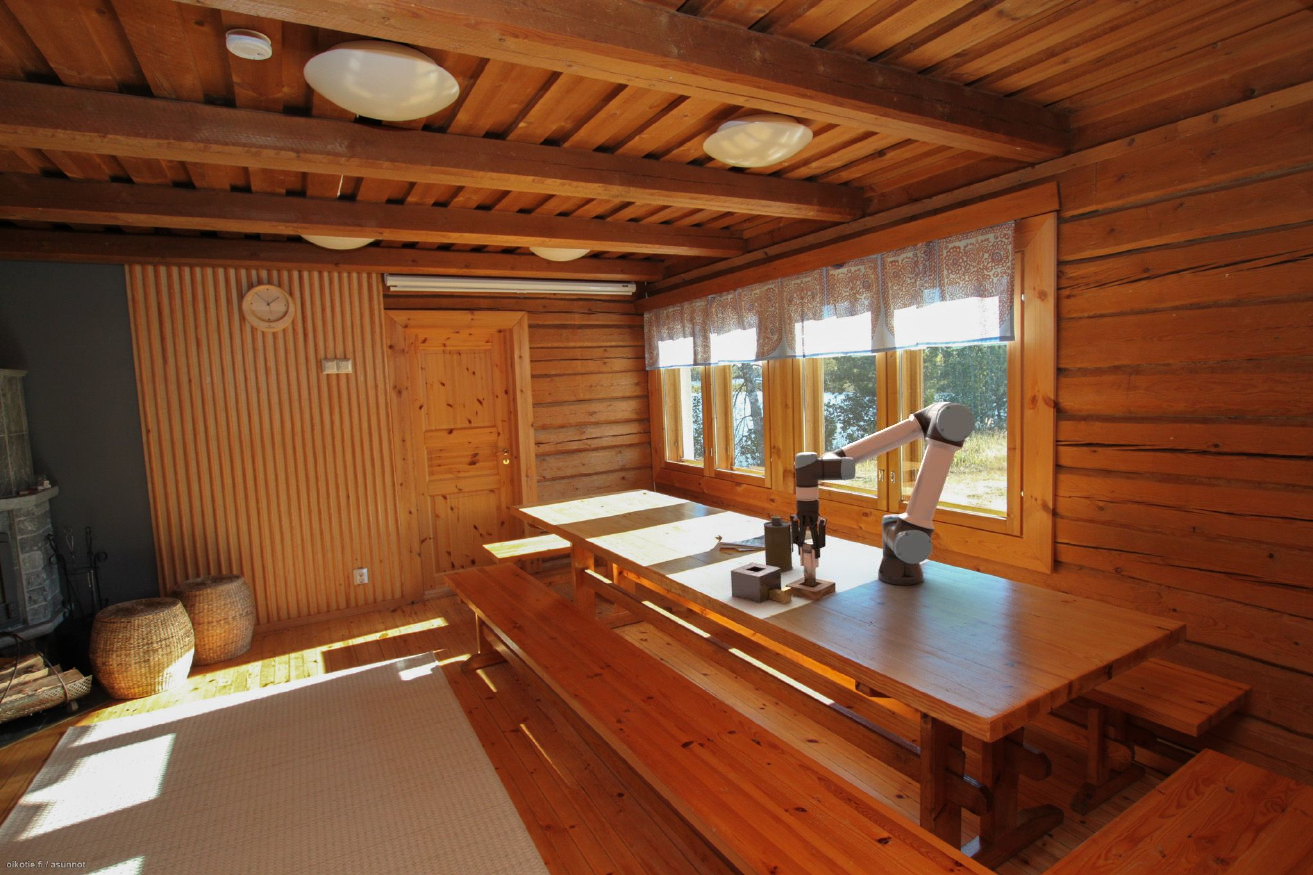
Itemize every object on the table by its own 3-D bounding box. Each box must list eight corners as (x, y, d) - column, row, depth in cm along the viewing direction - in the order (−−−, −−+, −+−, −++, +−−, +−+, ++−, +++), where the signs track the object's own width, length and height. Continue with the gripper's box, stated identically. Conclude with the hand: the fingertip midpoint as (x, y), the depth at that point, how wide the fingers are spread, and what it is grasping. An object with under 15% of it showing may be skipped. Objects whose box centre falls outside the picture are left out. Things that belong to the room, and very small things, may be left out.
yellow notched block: (791, 600, 224) (791, 587, 224) (784, 604, 222) (784, 590, 221) (762, 593, 233) (761, 581, 233) (755, 596, 230) (754, 584, 230)
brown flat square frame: (835, 591, 232) (835, 582, 232) (816, 600, 224) (815, 591, 223) (805, 584, 240) (805, 576, 240) (785, 593, 232) (785, 585, 232)
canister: (761, 570, 260) (759, 519, 258) (770, 563, 269) (768, 513, 267) (789, 573, 254) (787, 520, 253) (797, 565, 264) (795, 514, 262)
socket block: (781, 593, 232) (780, 568, 231) (760, 603, 224) (759, 576, 223) (753, 587, 241) (752, 562, 240) (731, 596, 232) (730, 570, 232)
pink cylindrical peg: (818, 583, 232) (817, 543, 230) (811, 586, 229) (810, 545, 228) (808, 581, 234) (807, 541, 233) (801, 584, 232) (800, 543, 230)
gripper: (835, 499, 225) (837, 567, 228) (792, 494, 238) (794, 559, 240) (823, 502, 220) (825, 573, 222) (779, 497, 232) (782, 564, 235)
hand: (809, 566), depth 231 cm, fingers closed on pink cylindrical peg, 4 cm apart
